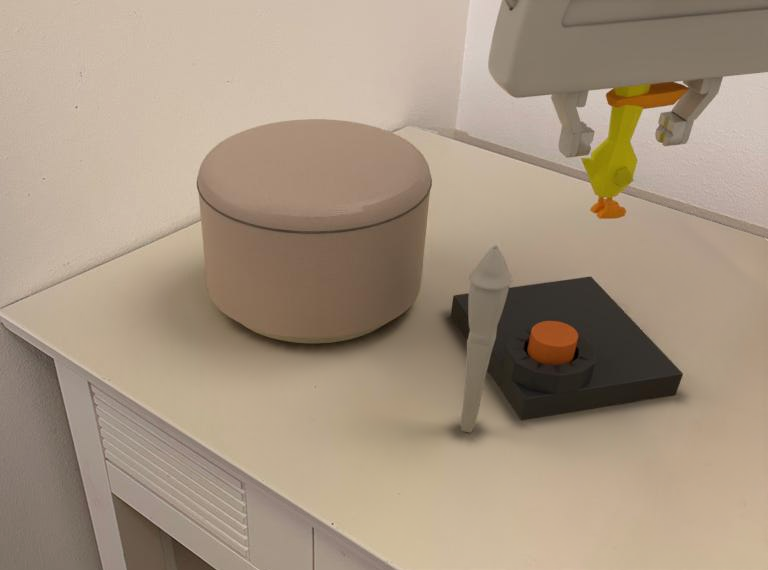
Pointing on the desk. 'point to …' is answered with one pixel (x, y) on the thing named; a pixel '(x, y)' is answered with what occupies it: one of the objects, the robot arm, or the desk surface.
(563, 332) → the button
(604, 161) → the toy figure
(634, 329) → the orange button pad
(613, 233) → the desk surface
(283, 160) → the container
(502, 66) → the robot arm
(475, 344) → the pen
